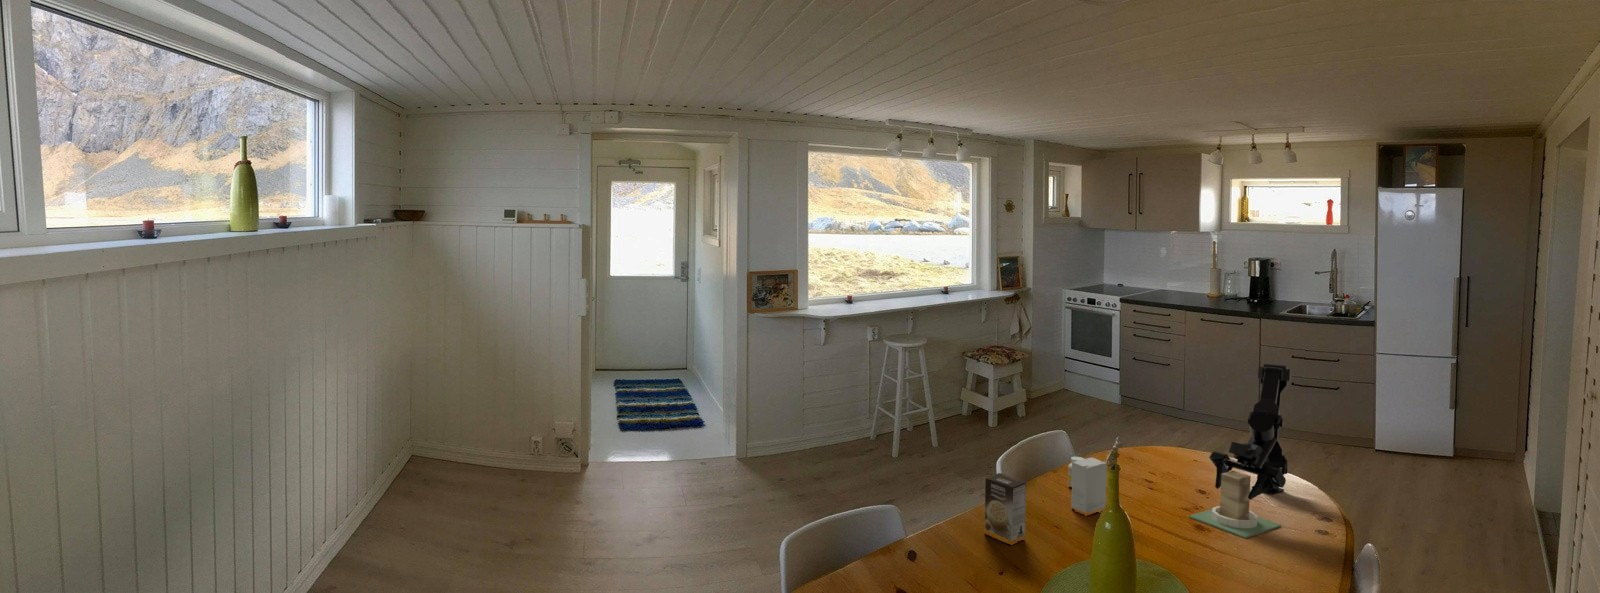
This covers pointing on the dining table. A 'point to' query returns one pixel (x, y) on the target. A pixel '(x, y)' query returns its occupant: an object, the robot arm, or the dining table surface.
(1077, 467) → the skincare box
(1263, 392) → the robot arm
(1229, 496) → the oak block
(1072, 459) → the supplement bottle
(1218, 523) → the putting green
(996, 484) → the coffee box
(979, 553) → the dining table surface
